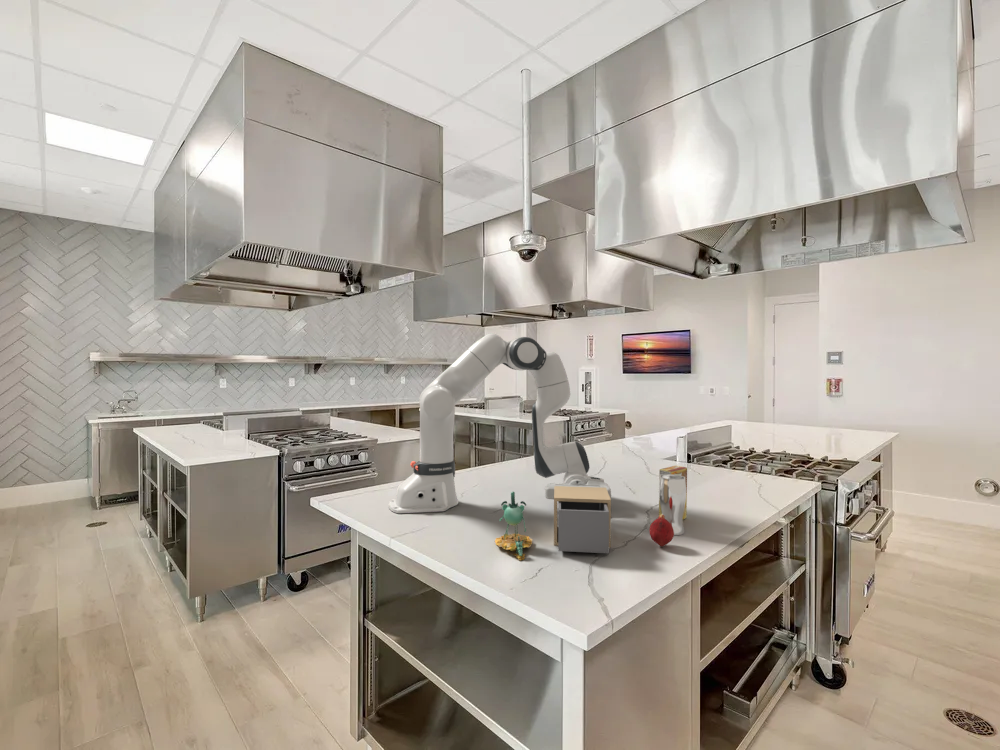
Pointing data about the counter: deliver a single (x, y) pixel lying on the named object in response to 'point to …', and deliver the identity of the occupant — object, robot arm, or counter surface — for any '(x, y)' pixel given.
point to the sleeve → (580, 496)
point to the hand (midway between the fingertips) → (578, 499)
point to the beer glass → (673, 500)
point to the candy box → (676, 471)
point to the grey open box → (583, 527)
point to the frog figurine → (514, 517)
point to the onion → (661, 531)
